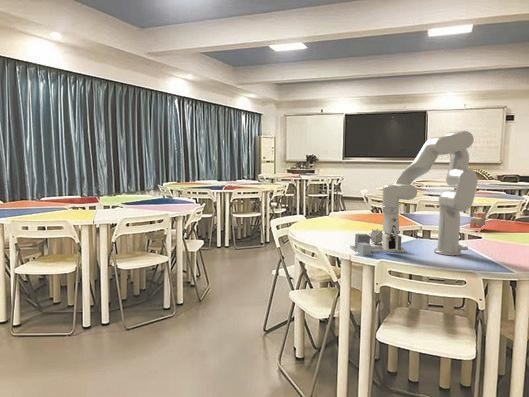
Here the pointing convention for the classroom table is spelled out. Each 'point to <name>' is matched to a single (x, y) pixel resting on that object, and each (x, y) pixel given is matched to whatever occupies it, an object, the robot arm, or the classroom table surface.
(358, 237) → the rail
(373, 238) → the grey spiky ball
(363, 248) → the block
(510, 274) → the classroom table surface
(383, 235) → the block
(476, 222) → the stack of blocks
